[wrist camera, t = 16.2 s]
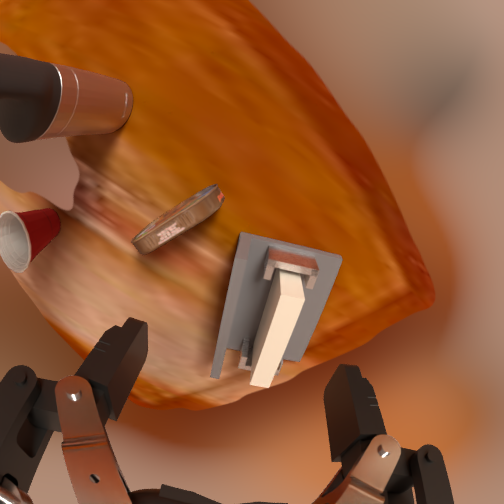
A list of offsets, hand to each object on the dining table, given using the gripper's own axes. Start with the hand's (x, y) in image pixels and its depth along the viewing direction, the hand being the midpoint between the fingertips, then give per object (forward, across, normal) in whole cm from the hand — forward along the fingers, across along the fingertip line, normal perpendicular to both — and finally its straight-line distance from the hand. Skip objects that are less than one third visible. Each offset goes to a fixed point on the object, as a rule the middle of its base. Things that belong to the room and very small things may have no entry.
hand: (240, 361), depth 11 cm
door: (+31, -6, +17) cm, 35 cm away
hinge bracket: (+32, -6, +17) cm, 37 cm away
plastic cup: (+32, +39, +12) cm, 52 cm away
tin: (+32, +11, +5) cm, 35 cm away
